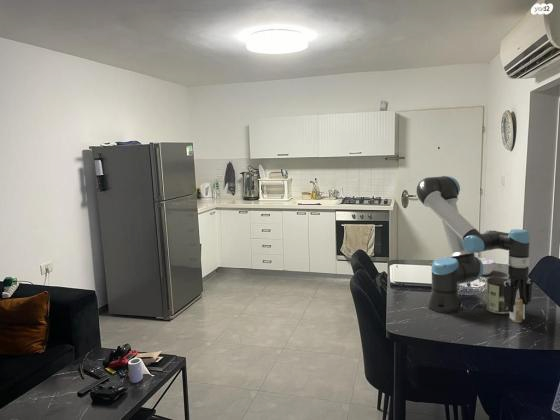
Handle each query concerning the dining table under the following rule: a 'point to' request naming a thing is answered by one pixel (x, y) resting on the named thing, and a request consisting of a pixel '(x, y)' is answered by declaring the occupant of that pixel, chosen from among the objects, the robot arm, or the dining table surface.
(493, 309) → the coffee can
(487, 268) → the paper bowls
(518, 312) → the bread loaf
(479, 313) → the dining table surface
